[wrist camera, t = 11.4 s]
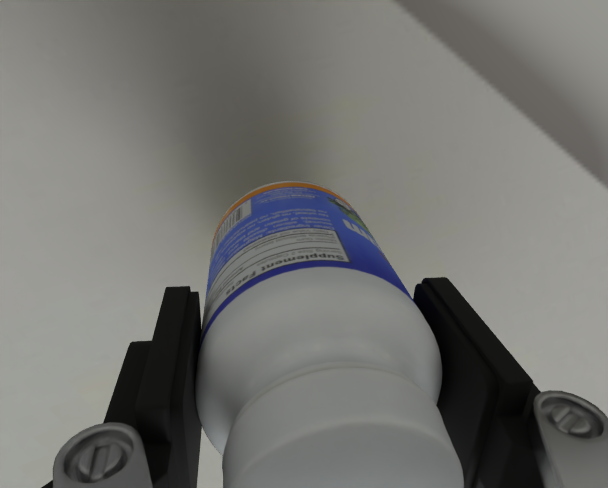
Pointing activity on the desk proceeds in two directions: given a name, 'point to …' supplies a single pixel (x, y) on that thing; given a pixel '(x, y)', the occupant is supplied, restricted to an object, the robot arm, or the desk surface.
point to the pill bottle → (316, 353)
